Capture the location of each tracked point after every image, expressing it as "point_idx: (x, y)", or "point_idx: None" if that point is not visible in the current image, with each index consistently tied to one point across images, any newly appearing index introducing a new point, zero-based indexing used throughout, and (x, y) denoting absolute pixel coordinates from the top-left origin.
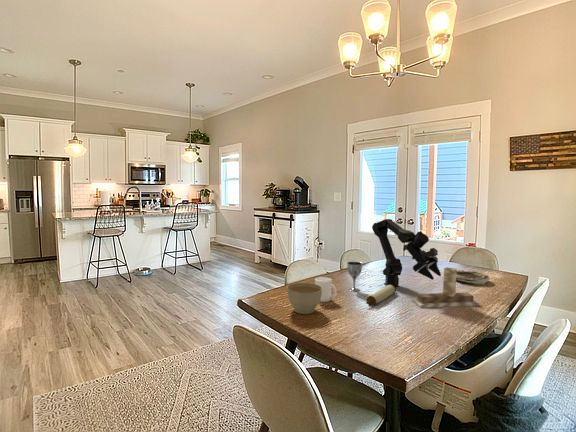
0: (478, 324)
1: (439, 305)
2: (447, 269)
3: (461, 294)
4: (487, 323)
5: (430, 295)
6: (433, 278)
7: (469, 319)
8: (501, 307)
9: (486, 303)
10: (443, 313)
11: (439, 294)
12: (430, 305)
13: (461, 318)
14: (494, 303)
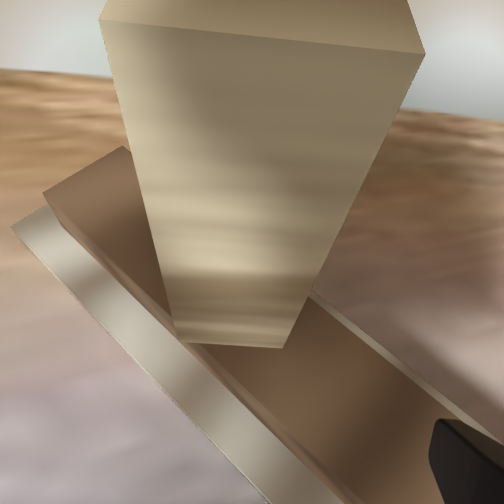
0: (467, 134)
1: (392, 360)
2: (405, 2)
3: (146, 215)
4: (416, 111)
5: (425, 457)
6: (461, 425)
7: (441, 170)
8: (105, 84)
9: (66, 139)
10: (492, 298)
11: (300, 381)
12: (472, 423)
13: (467, 200)
14: (39, 110)
